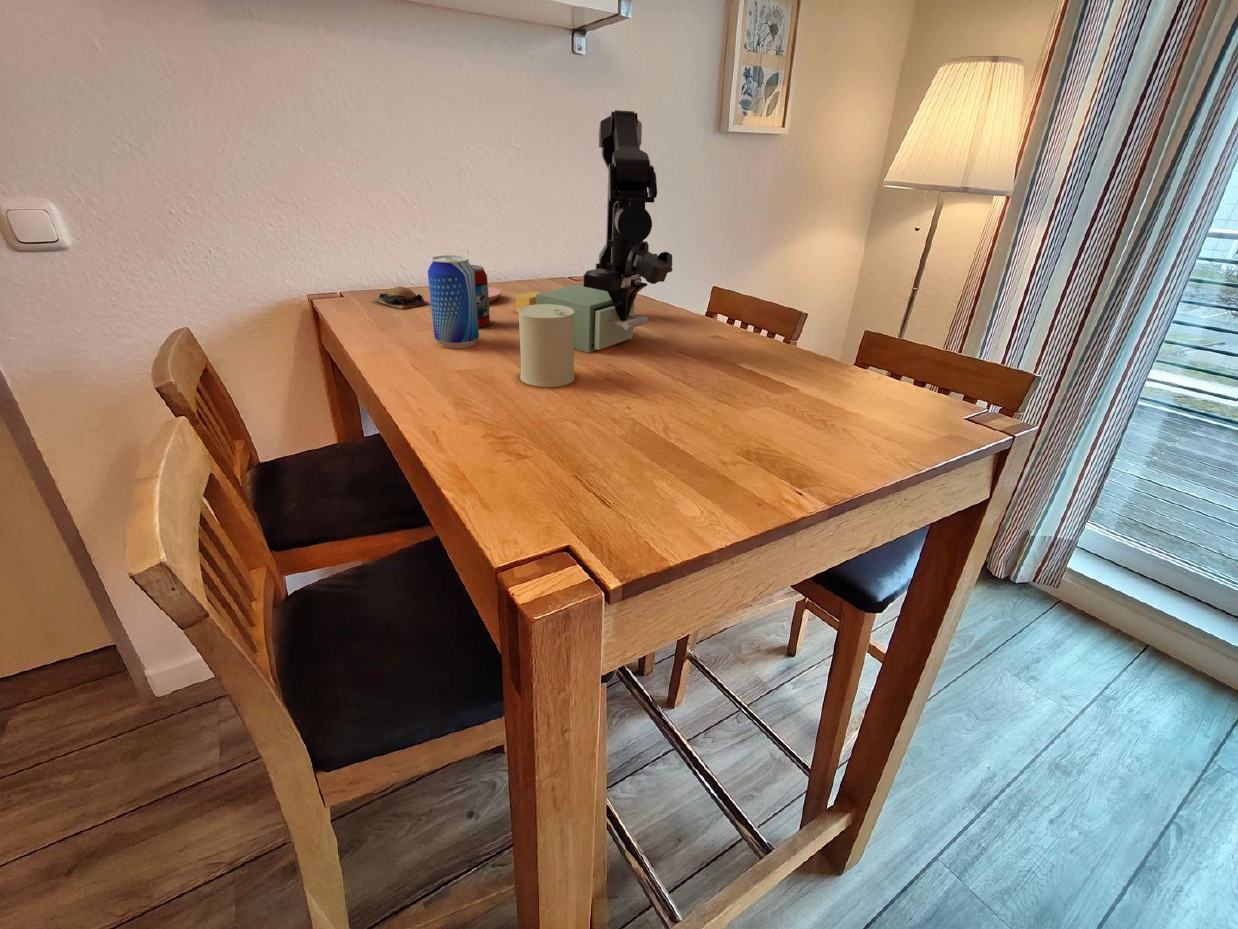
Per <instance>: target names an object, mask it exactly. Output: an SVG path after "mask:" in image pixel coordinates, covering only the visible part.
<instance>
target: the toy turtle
mask: <svg viewBox="0 0 1238 929" xmlns="http://www.w3.org/2000/svg"><path fill="white" fill-rule="evenodd" d="M374 300H375V302H377V303H379V304H383V305H385V306H389V307H391V308H396V309H399V310H405V309H406V310H407V309H410V308H411V309H413V308H415V307H420V306H425V305H428V303H427V302H426V301H425V298H424V297H423V296H422V295H421V294H419V293H415V292H414V291H413V290H412V289H410V288H408V287H405V286H395V287H391V288H389V289H387V290H386V291H385V293H380V294H379V296H378V297H376V298H375V299H374Z"/></svg>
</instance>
